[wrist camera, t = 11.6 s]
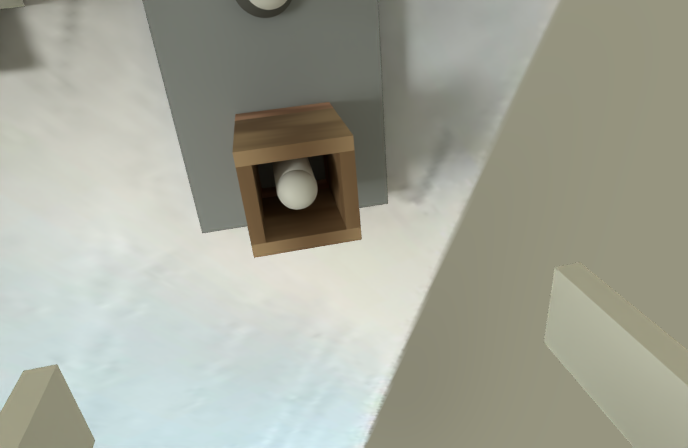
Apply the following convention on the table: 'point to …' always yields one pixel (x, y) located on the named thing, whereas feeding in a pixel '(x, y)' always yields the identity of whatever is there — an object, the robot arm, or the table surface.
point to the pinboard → (268, 90)
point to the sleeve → (333, 192)
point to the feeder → (11, 4)
